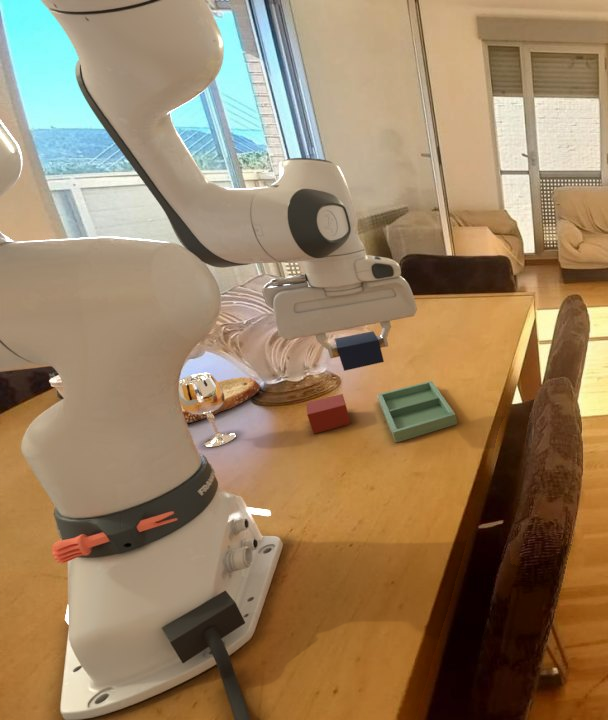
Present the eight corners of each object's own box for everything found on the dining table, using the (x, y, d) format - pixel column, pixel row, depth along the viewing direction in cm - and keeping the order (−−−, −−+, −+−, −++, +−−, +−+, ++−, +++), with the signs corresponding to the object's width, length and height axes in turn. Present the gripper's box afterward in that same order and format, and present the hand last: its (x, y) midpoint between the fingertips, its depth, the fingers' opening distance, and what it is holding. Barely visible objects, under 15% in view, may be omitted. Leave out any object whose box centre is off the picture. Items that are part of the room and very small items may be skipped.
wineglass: (217, 450, 81) (190, 387, 76) (190, 447, 82) (162, 385, 77) (248, 432, 86) (224, 372, 81) (222, 430, 87) (197, 370, 82)
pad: (384, 362, 80) (378, 339, 78) (344, 371, 77) (337, 348, 75) (378, 352, 84) (373, 331, 83) (340, 360, 81) (334, 338, 80)
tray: (457, 424, 87) (455, 414, 86) (395, 443, 81) (392, 432, 81) (433, 389, 100) (431, 380, 99) (379, 403, 95) (377, 394, 94)
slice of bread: (267, 383, 105) (262, 368, 104) (227, 423, 89) (219, 406, 88) (173, 394, 101) (166, 378, 100) (113, 438, 85) (103, 420, 84)
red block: (350, 423, 88) (345, 404, 86) (313, 434, 85) (307, 414, 83) (347, 412, 92) (342, 393, 91) (312, 421, 89) (306, 402, 88)
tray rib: (439, 404, 93) (438, 397, 92) (391, 418, 88) (389, 411, 88) (439, 403, 93) (437, 396, 92) (391, 416, 89) (389, 409, 88)
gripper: (257, 285, 67) (287, 373, 72) (409, 264, 77) (426, 343, 83) (258, 276, 72) (287, 360, 77) (401, 258, 82) (417, 333, 87)
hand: (360, 351), depth 80 cm, fingers closed on pad, 6 cm apart
